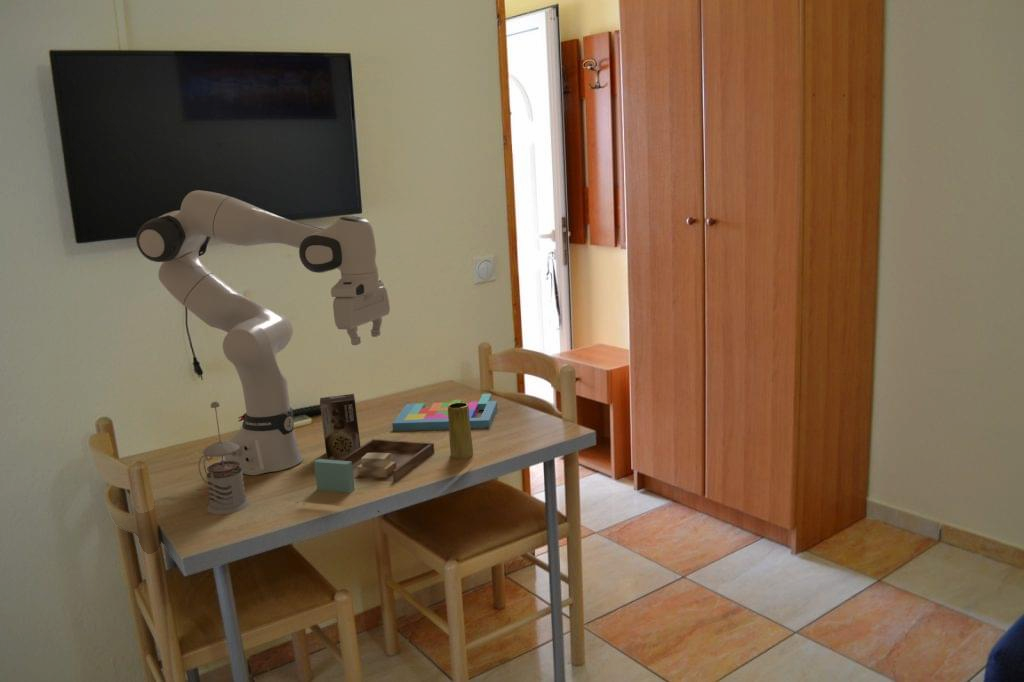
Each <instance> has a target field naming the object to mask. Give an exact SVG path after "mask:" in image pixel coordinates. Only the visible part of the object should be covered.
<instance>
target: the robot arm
mask: <svg viewBox="0 0 1024 682" xmlns="http://www.w3.org/2000/svg"><path fill="white" fill-rule="evenodd" d="M180 205H181V206H180V209H179V210H173V211H170V212H166V213H164V214H162V215H160V216H158V217H153V218H151V219H150V220H147V221H146V222H145V223H144V224H142V226H140V227H139V229H138V231H136V232H137V234H136V238H135V239H136V240H135V241H136V246H137V248H138V250H139V252H140V254H142V256H143V257H144V258H146V259H147V260H149V261H151V262H154V263H155V262H156V263H161V265H160V267H159V270H158V280H159V282H160V283H161V284H162V285H163V287H164V289H166V290H167V292H169V293H170V295H172V297H174V299H176V301H178V302H179V303H180V304H181V305H183V307H185V308H186V309H188V311H189V312H191V313H192V314H193V315H195V316H196V317H197V318H198V319H200V320H201V321H202V322H203V323H204V324H206V325H208V326H209V327H211V328H216V329H219V330H222V331H224V332H226V333H227V334H226V335H225V337H224V338H223V341H222V350H223V353H224V356H225V358H226V359H227V360H228V361H229V362H230V363H231V364H233V366H234V368H235V370H236V372H237V374H238V377H239V379H240V382H241V387H242V392H243V399H244V405H245V411H246V412H245V413H244V414H243V415H240V416H238V418H237V419H239V420H238V422H241V421H242V424H241V425H242V427H241V428H240V429H239V430H237V431H236V432H235V433H234V434H233V435H232V436H231V437H230V438H229V439H228V440H226V442H233V443H235V444H237V445H239V446H240V448H239V450H238V451H237V452H235V453H233V454H230V455H226V456H223V462H224V461H228V460H229V461H237V462H239V463H240V465H239V467H240V468H241V469H242V473H243V475H249V476H258V475H262V474H265V473H271V472H272V473H273V472H277V471H279V472H280V471H282V470H287V469H289V468H292V467H295V466H297V465H299V464H301V462H302V461H303V459H304V457H303V455H302V453H301V449H300V448H299V444H298V441H297V437H296V433H295V429H294V425H295V424H294V423H295V419H294V413H293V408H292V407H291V401H290V395H289V387H288V380H287V378H286V377H285V376H284V374H282V372H281V370H280V367H279V365H278V361H277V357H276V356H277V355H276V354H277V353H279V352H281V351H283V350H284V349H285V348H286V347H287V345H289V342H290V341H291V339H292V336H293V333H294V331H293V325H292V322H291V321H290V319H289V318H288V317H287V316H286V315H284V314H282V313H281V312H276V311H273V310H271V309H268V308H267V307H265V306H263V305H261V304H260V303H257V302H256V301H253V300H252V299H250V298H248V297H247V296H245V295H243V294H241V293H240V292H238V291H237V290H236V289H234V288H233V287H232V286H231V285H229V284H228V283H227V282H226V281H224V280H223V279H222V278H220V276H218V275H217V274H215V273H214V271H212V270H210V269H209V268H208V267H207V266H205V265H204V264H203V262H202V260H201V259H200V257H201V256H203V255H205V253H207V247H208V244H209V242H210V241H211V239H214V240H217V241H219V242H223V243H226V244H229V245H236V246H243V247H244V246H245V247H249V246H257V245H265V244H266V245H267V244H282V245H285V246H290V247H293V248H296V249H297V248H298V255H299V259H300V262H301V264H302V266H304V267H305V268H306V270H308V271H310V272H312V273H316V274H317V273H318V274H324V273H327V272H331V271H335V270H338V271H340V279H339V280H338V281H337V282H336V284H334V286H332V287H331V288H330V296H331V297H332V298H333V302H332V308H333V309H332V310H333V318H334V324H335V326H336V327H337V329H338V330H346V332H347V335H348V336H349V338H350V343H351V345H352V346H358V345H361V343H362V341H361V336H359V334H358V327H360V326H362V325H365V324H368V323H370V322H372V329H370V334H371V337H373V338H374V337H375V338H377V337H379V336H381V327H382V322H383V317H385V316H388V315H389V314H390V309H391V308H390V307H391V306H390V299H389V295H388V290H387V289H386V287H385V285H384V282H383V281H382V280H381V279H380V278H379V269H378V266H377V262H376V257H377V256H376V255H377V248H376V240H375V233H374V231H373V229H374V228H373V226H372V223H371V222H370V221H369V220H368V219H366V218H364V217H359V216H349V215H348V216H347V215H346V216H345V215H344V216H341V217H338V219H337V220H336V221H335V222H333V223H332V224H330V225H329V226H327V227H325V228H322V227H321V228H320V227H316V226H313V225H310V224H307V223H304V222H301V221H296V220H292V219H289V218H286V217H283V216H280V215H277V214H275V213H272V212H271V211H267V210H265V209H263V208H260V207H258V206H255V205H253V204H251V203H248V202H246V201H243V200H242V199H238V198H237V197H233V196H229V195H227V194H224V193H223V194H222V193H218V192H215V191H206V190H199V189H197V190H193V191H190V192H188V193H187V195H185V197H184V198H183V200H182V202H181V204H180ZM218 462H222V458H220V459H219V460H218V461H217V462H216V463H218ZM231 472H233V473H238V472H237V471H233V470H232V471H231Z"/></svg>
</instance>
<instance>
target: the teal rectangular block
mask: <svg viewBox="0 0 1024 682" xmlns="http://www.w3.org/2000/svg"><path fill="white" fill-rule="evenodd" d="M339 460H340V459H339ZM339 460H338V459H337V460H336V459H327V458H325V459H324V458H318V459H316V460H314V461H313V464H314V475H315V483H316V490H317V491H327V492H336V493H339V492H340V493H348V494H351V493H352V492H353V491H355V480H354V479H355V478H353V469H352V461H339Z"/></svg>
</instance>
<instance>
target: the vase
mask: <svg viewBox="0 0 1024 682" xmlns="http://www.w3.org/2000/svg"><path fill="white" fill-rule="evenodd" d="M468 404H469V403H467V402H463V401H462V402H457V403H452V404H449V405H448V419H449V429H448V430H449V431H448V433H449V434H448V435H449V447H450V451H449V452H450V458H452V459H454V460H464V459H469V458H471V457H472V456H474V449H473V440H472V439H473V437H472V429H471V428H470V419H469V407H468Z"/></svg>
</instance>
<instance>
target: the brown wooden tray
mask: <svg viewBox="0 0 1024 682" xmlns="http://www.w3.org/2000/svg"><path fill="white" fill-rule="evenodd" d="M360 446H361V447H360V448H358V449H356V450H355V451H353V452H352V453H350V454H349V455H347V456H345V457H342V458H340V459H339V461H352V469H353V479H359V480H369V481H381V482H391V483H396V482H397V481H399V480H400V479H402V478H403V477H404V476H406V475H407V474H408V473H409V472H411V471H412V470H414V469H415V468H416V467H417V466H418V465H420V464H421V463H423V462H424V461H425V460H427V459H428V458H429V457H430V456H432V455H433V454H434V453H435V443H434V442H424V441H410V440H409V441H408V440H407V441H406V440H394V439H393V440H392V439H378V438H372V439H371V440H369V441H367V442H366V443H364V444H363V445H360ZM367 453H390V455H391V462H396V467H397V468H396V469H395V470H393V473H392V474H391V475H390V476H388V477H387V478H385V477H373V476H362V475H358V470H357V466H359V465H360V464H362V462H361V458H362V457H363V456H364V455H365V454H367Z"/></svg>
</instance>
